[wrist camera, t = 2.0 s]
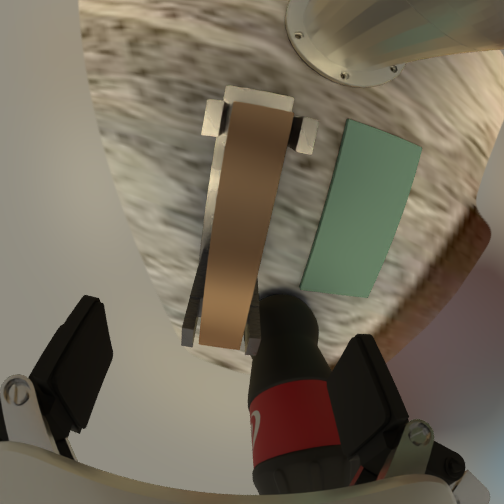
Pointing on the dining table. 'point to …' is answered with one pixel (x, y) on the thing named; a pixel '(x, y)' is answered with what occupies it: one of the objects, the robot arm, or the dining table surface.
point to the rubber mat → (360, 211)
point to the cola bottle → (293, 406)
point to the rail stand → (218, 127)
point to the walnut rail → (242, 218)
